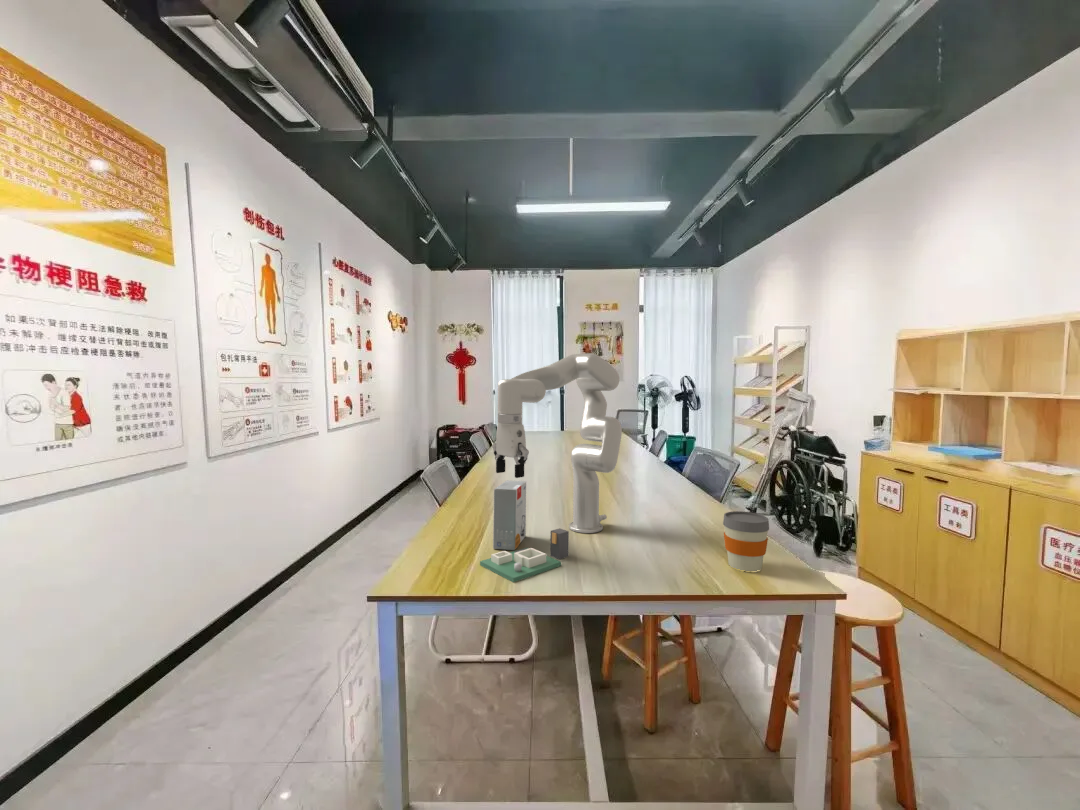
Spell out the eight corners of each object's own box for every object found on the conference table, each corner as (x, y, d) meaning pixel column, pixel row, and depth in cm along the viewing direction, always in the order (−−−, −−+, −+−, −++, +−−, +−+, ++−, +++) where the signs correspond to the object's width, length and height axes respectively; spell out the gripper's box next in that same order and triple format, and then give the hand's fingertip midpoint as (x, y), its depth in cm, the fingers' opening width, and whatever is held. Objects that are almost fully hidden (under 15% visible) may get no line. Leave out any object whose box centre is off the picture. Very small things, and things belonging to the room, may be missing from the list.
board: (526, 551, 152) (526, 541, 152) (561, 565, 140) (561, 555, 140) (480, 565, 140) (480, 554, 140) (513, 582, 128) (513, 570, 128)
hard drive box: (515, 551, 152) (515, 490, 151) (492, 549, 153) (492, 488, 152) (526, 536, 167) (526, 480, 166) (505, 534, 168) (505, 479, 167)
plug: (559, 552, 150) (559, 528, 150) (568, 556, 147) (568, 531, 147) (549, 556, 147) (549, 531, 147) (557, 559, 144) (558, 534, 144)
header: (531, 555, 144) (531, 547, 144) (546, 562, 139) (546, 553, 139) (512, 561, 140) (512, 553, 139) (527, 568, 134) (527, 560, 134)
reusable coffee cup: (724, 572, 135) (725, 521, 135) (720, 557, 147) (721, 509, 147) (772, 577, 132) (773, 524, 131) (763, 561, 144) (764, 512, 143)
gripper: (537, 420, 140) (537, 477, 141) (503, 417, 154) (503, 469, 154) (517, 422, 135) (517, 480, 136) (484, 418, 149) (484, 472, 150)
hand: (509, 474), depth 145 cm, fingers open, 9 cm apart
